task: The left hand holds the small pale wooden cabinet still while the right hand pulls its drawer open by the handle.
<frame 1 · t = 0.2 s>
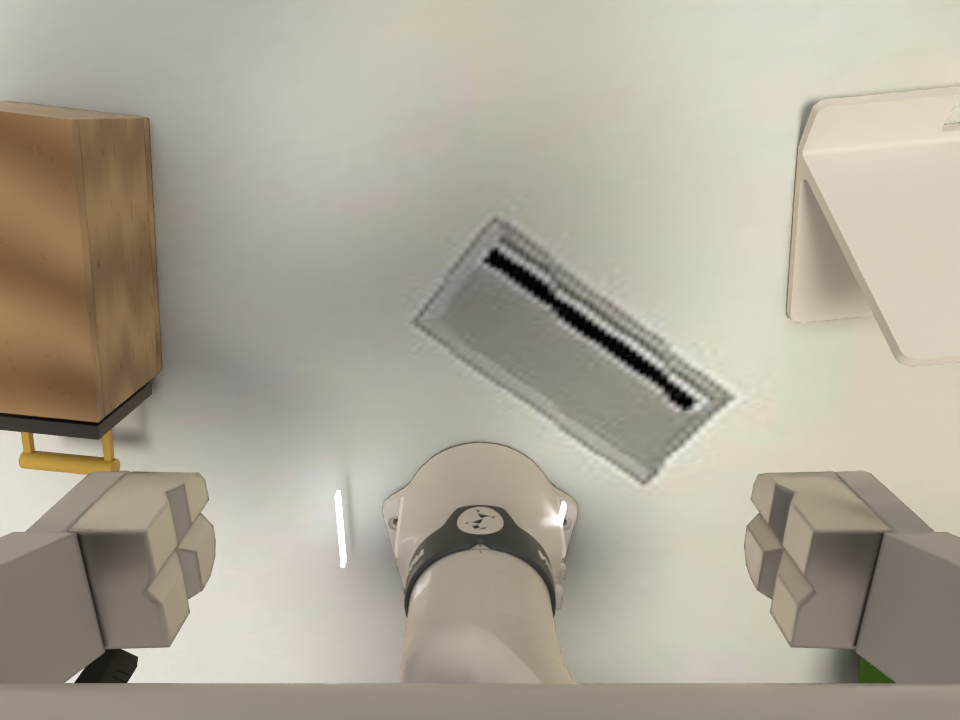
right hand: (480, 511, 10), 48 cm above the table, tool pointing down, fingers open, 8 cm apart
vase: (900, 645, 71), on the table
cabinet: (92, 245, 57), on the table
tablet stand: (944, 202, 55), on the table
drawer: (60, 324, 53), point 5 cm above the table, slide at 0.8 cm
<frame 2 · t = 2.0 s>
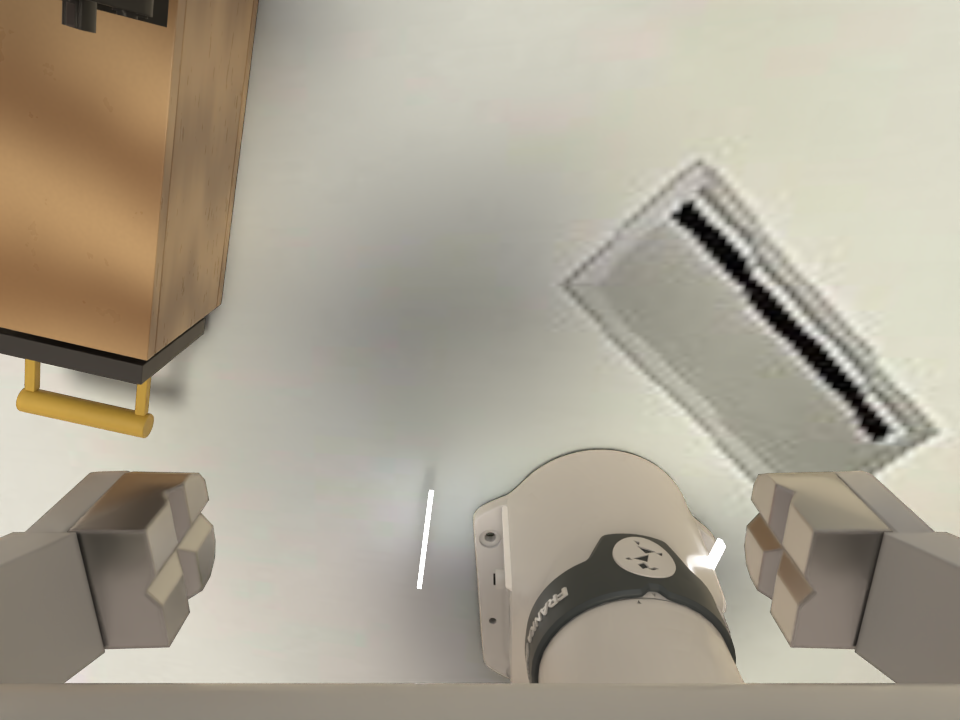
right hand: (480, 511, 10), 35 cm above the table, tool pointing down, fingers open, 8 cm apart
cabinet: (155, 120, 41), on the table
drawer: (104, 218, 38), point 5 cm above the table, slide at 0.8 cm
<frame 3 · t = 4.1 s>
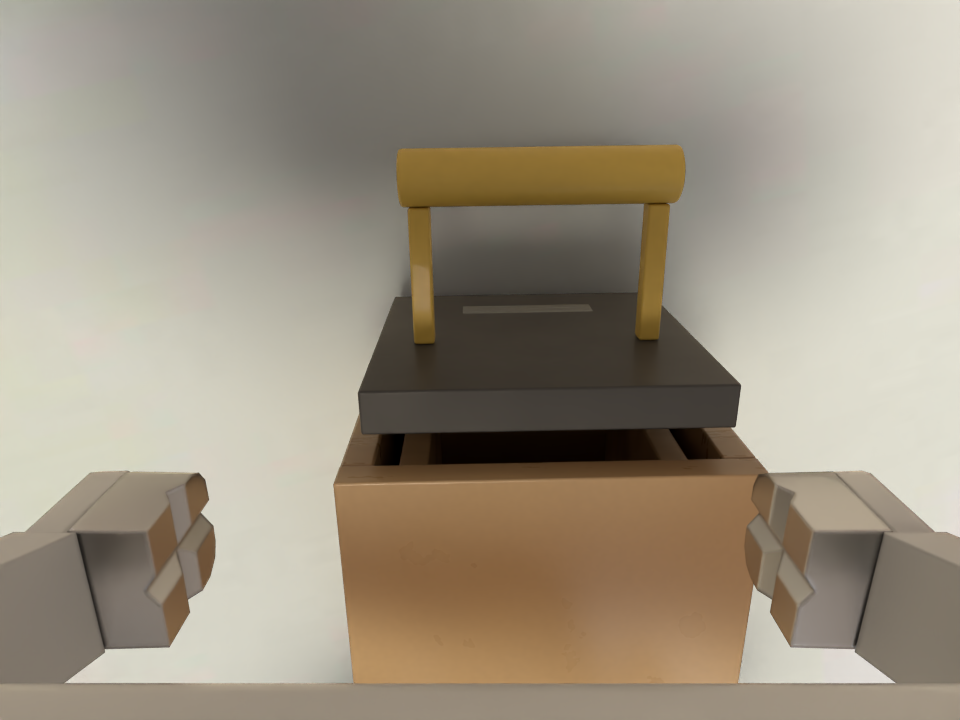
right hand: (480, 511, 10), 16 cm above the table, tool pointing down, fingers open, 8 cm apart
cabinet: (518, 564, 30), on the table, touching left hand
drawer: (530, 536, 23), point 5 cm above the table, slide at 0.8 cm
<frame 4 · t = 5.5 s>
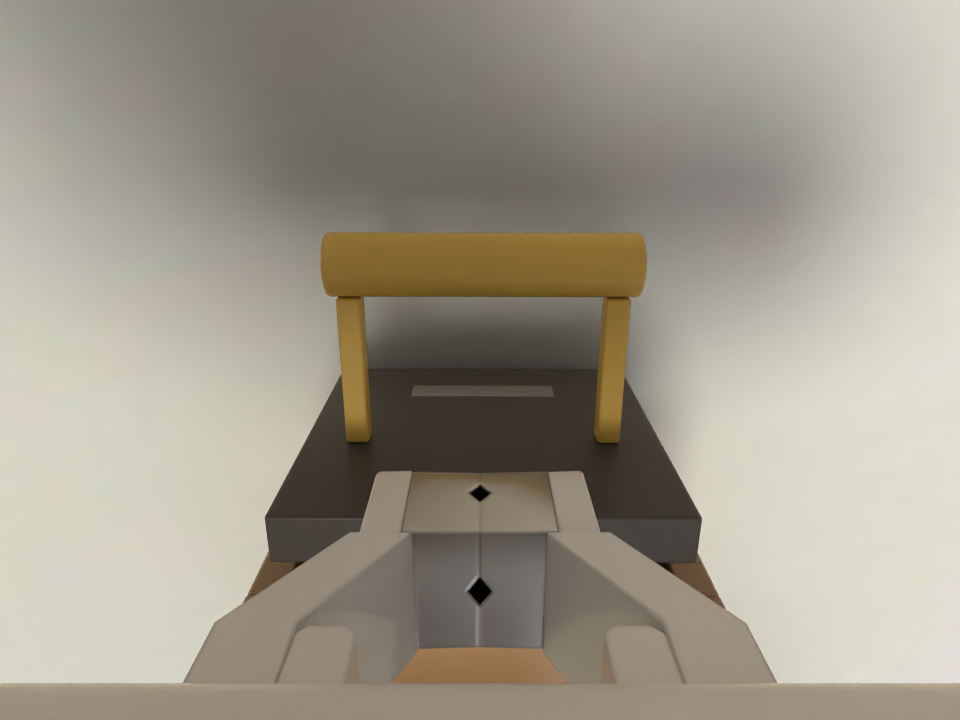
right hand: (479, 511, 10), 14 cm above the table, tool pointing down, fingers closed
cabinet: (481, 645, 28), on the table, touching left hand
drawer: (482, 639, 21), point 5 cm above the table, slide at 0.8 cm
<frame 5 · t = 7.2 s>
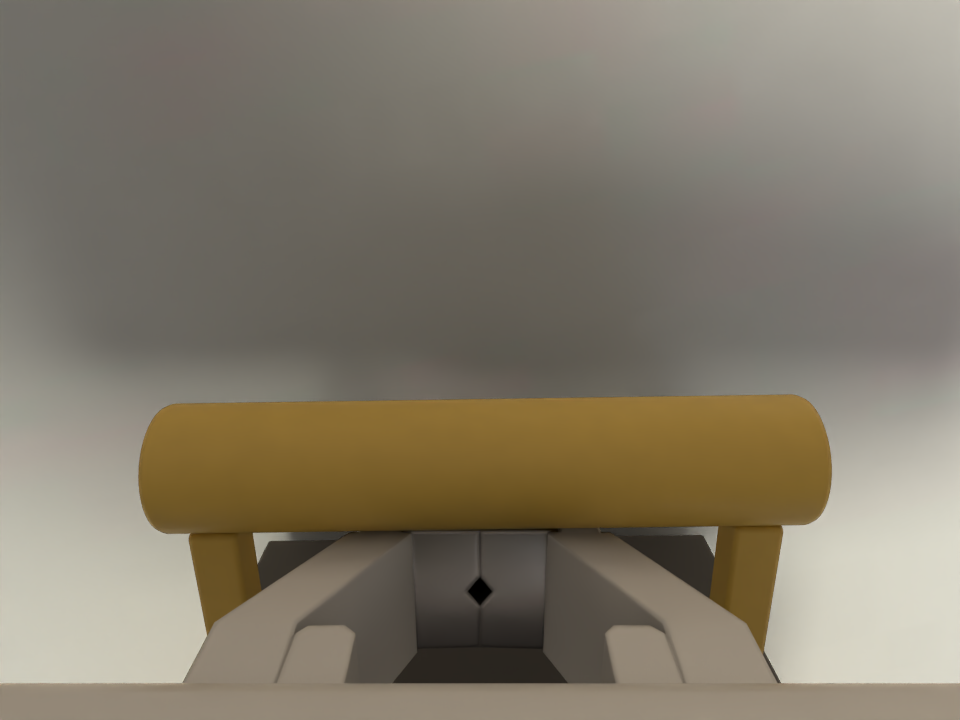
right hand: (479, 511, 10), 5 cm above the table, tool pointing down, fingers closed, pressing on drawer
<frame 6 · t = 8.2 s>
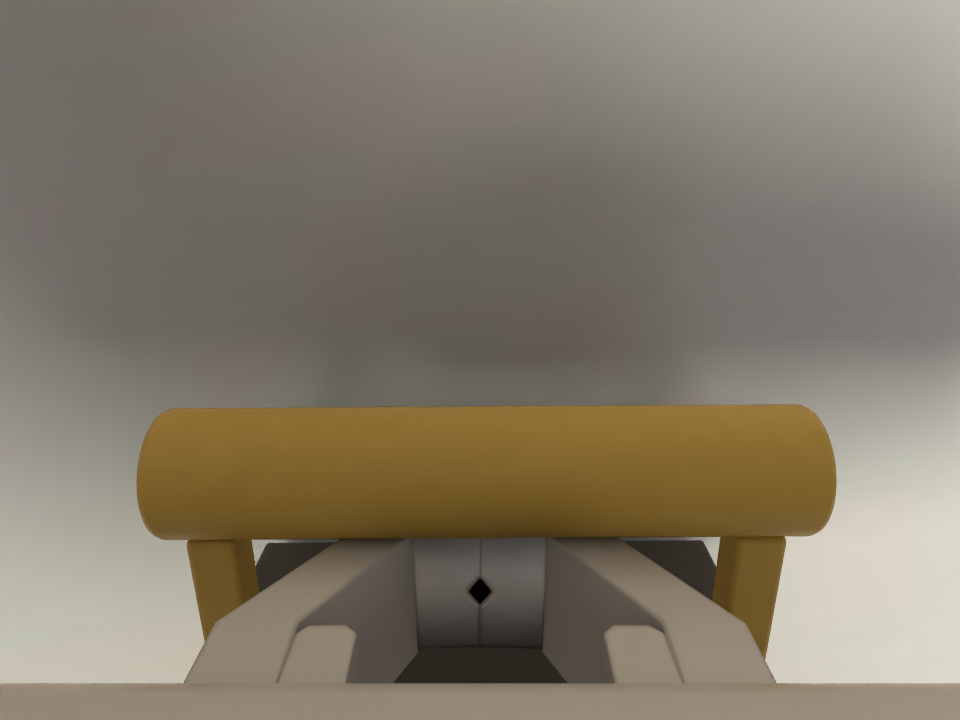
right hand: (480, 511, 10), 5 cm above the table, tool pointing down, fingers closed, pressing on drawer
when the left hand's fingers open (6 cm above the table, at t = 10.0 s): cabinet stays where it is, on the table.
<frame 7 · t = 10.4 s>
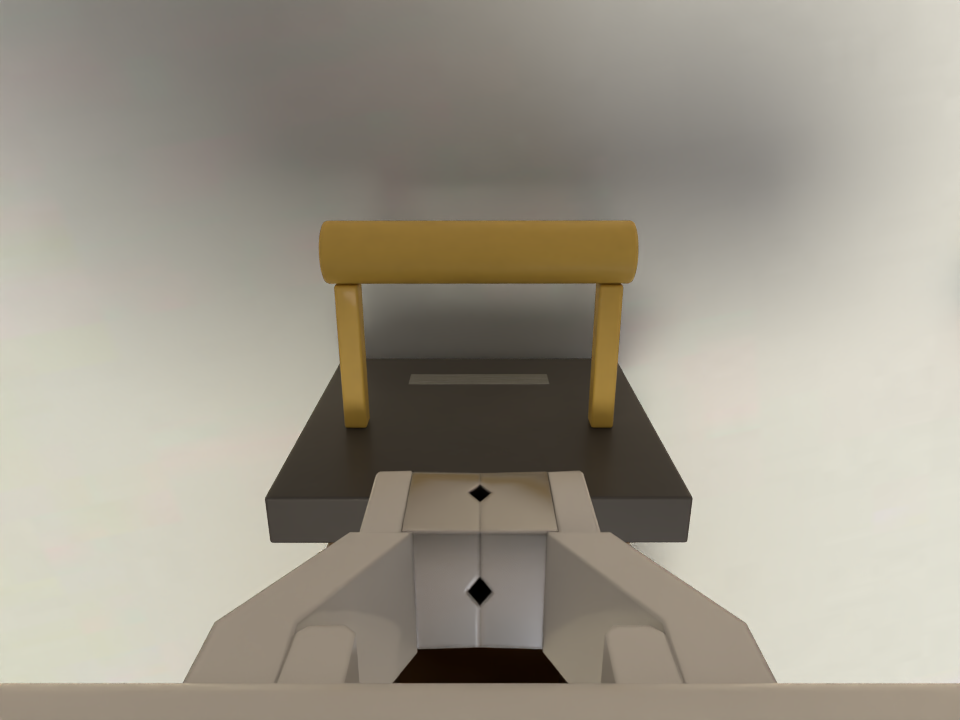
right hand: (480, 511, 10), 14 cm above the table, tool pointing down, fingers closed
drawer: (479, 624, 22), point 5 cm above the table, slide at 7.4 cm
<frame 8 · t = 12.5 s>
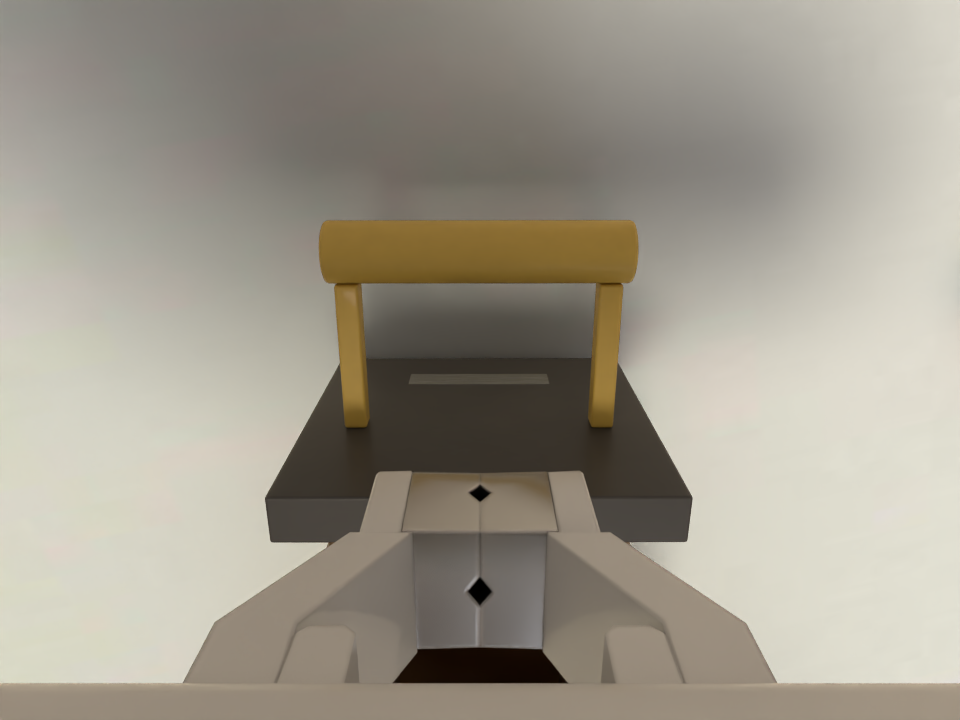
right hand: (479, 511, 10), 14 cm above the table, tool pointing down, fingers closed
drawer: (479, 623, 22), point 5 cm above the table, slide at 7.4 cm
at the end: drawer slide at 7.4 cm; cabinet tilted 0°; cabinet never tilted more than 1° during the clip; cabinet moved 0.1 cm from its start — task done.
